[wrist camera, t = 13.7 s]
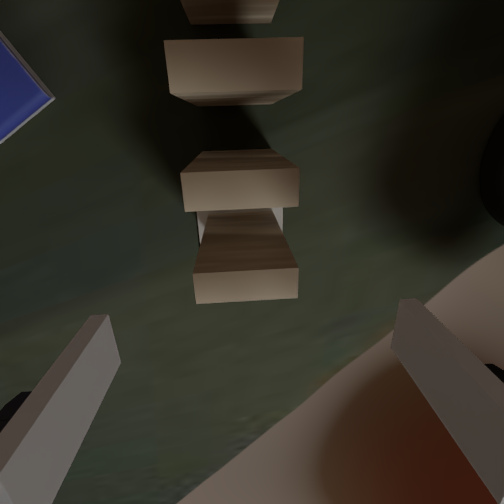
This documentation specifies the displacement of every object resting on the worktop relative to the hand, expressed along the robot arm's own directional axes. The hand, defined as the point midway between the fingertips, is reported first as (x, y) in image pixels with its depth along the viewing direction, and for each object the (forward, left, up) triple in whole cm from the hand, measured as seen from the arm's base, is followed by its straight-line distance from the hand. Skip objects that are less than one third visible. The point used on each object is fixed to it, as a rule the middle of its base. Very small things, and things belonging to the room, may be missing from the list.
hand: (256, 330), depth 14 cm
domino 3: (+11, 0, -16) cm, 20 cm away
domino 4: (+6, 0, -16) cm, 17 cm away
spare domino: (0, 0, -16) cm, 16 cm away
